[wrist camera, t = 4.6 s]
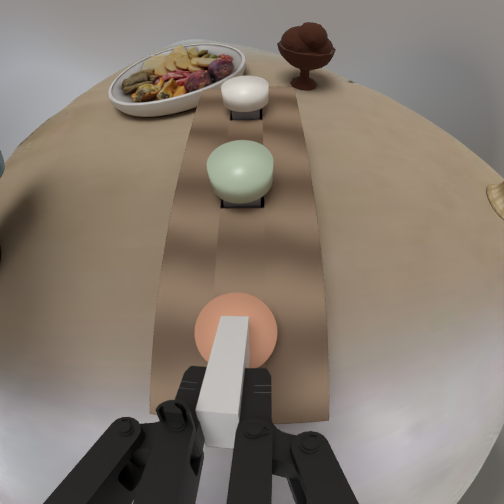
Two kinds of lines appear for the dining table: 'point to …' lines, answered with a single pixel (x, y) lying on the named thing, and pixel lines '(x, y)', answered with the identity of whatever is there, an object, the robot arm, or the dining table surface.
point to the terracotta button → (238, 305)
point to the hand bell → (496, 198)
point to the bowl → (174, 79)
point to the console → (247, 259)
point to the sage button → (241, 173)
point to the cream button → (245, 96)
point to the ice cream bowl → (306, 51)
